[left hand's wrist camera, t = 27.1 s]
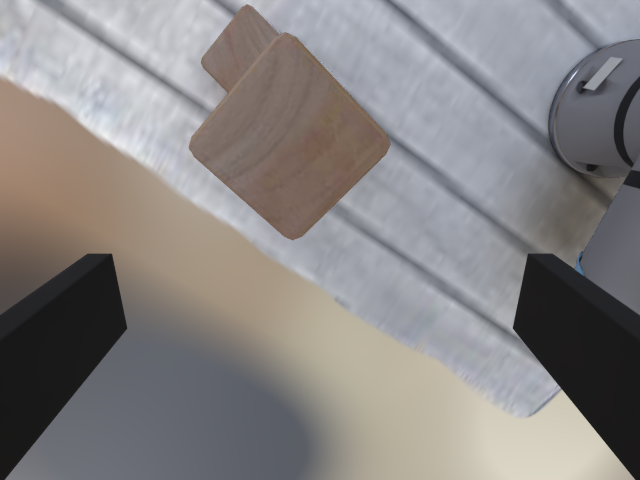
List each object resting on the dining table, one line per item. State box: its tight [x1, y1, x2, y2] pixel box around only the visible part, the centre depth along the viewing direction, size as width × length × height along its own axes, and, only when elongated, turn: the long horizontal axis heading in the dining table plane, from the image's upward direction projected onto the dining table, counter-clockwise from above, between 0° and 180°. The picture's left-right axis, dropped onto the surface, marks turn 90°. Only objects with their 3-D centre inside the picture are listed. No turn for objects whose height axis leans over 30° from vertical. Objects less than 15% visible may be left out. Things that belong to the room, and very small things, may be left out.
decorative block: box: [189, 5, 390, 240], centre depth 32 cm, size 8×15×30 cm, turn 46°
